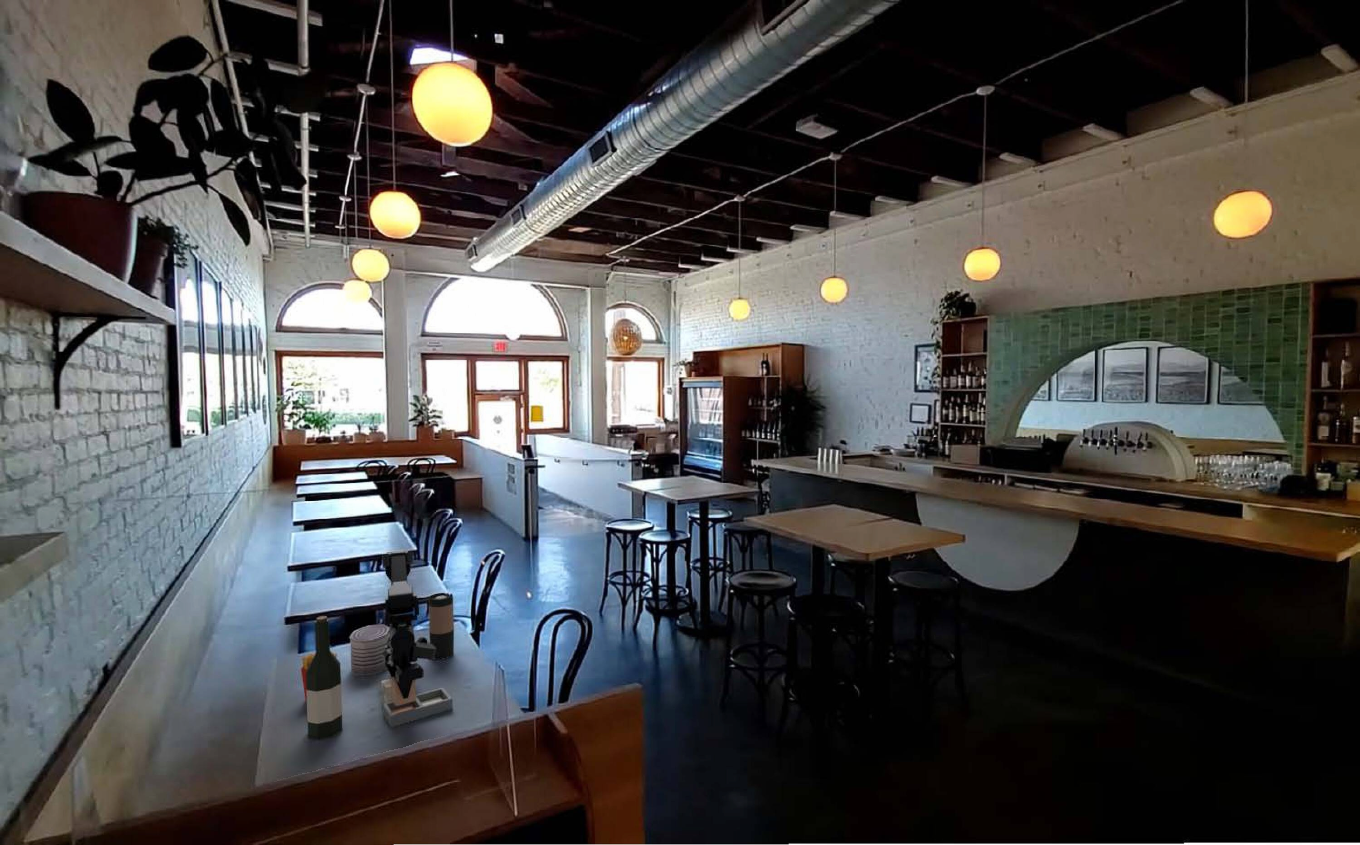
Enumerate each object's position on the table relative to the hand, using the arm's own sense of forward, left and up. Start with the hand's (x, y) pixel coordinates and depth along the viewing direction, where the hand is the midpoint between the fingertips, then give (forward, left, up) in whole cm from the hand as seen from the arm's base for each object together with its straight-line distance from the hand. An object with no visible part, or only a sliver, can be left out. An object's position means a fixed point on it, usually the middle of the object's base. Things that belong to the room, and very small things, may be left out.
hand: (403, 694), depth 175 cm
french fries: (-25, -16, -6) cm, 30 cm away
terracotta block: (0, 0, -2) cm, 2 cm away
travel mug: (-34, +21, -6) cm, 40 cm away
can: (-38, 0, -6) cm, 38 cm away
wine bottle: (-4, -18, -6) cm, 20 cm away
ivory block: (-10, 0, -6) cm, 12 cm away
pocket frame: (0, +4, -6) cm, 7 cm away
